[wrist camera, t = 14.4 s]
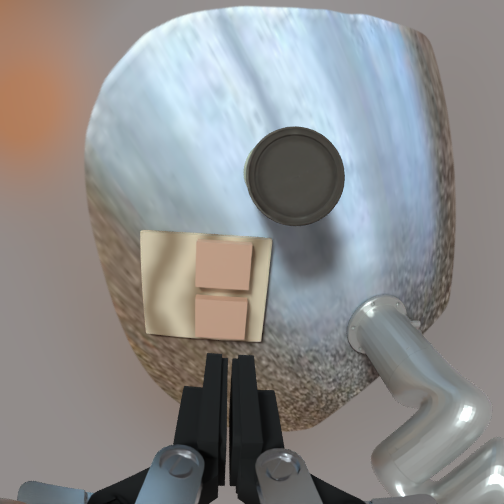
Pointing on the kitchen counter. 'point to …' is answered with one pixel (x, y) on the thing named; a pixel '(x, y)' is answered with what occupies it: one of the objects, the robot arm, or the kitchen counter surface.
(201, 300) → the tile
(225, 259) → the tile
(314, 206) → the coffee can
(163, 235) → the board
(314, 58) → the kitchen counter surface
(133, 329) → the kitchen counter surface
